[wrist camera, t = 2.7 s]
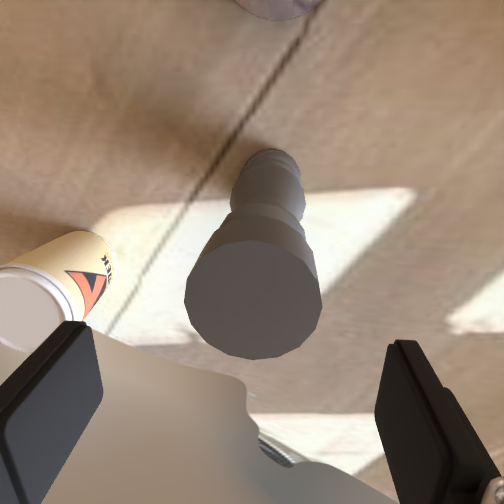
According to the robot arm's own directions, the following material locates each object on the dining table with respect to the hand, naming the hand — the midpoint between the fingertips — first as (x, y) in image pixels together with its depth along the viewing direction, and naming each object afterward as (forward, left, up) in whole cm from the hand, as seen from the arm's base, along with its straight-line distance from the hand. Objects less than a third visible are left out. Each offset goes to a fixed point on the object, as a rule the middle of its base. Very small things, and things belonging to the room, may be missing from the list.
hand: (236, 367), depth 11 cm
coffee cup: (+23, -8, -29) cm, 38 cm away
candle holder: (0, 0, -29) cm, 29 cm away
